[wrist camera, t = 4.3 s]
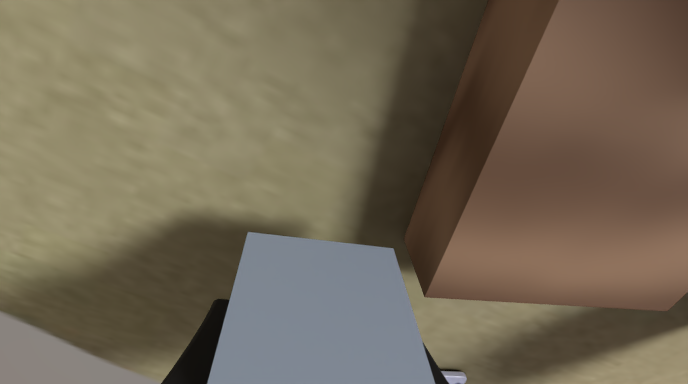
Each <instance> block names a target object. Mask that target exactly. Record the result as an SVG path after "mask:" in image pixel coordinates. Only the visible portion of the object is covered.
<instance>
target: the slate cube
mask: <svg viewBox="0 0 688 384" xmlns="http://www.w3.org/2000/svg"><path fill="white" fill-rule="evenodd" d="M207 384H435V381H434V378H433V375H432V372H431V368H430V365H429V362H428V359H427V355H426V352H425V349H424V346H423V342H422V339H421V336H420V333H419V330H418V326H417V323H416V320H415V317H414V313H413V310H412V307H411V304H410V300H409V297H408V294H407V291H406V288H405V284H404V281H403V278H402V275H401V271H400V268H399V265H398V262H397V258H396V255H395V252H394V249H393V248H386V247H377V246H368V245H359V244H350V243H341V242H333V241H324V240H315V239H306V238H297V237H288V236H280V235H271V234H262V233H253V232H248V234H247V237H246V241H245V245H244V249H243V252H242V256H241V260H240V263H239V267H238V271H237V275H236V278H235V282H234V286H233V290H232V293H231V297H230V301H229V304H228V308H227V312H226V316H225V319H224V323H223V327H222V331H221V334H220V338H219V342H218V345H217V349H216V353H215V357H214V360H213V364H212V368H211V371H210V375H209V379H208V383H207Z"/></svg>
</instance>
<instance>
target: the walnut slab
mask: <svg viewBox="0 0 688 384" xmlns="http://www.w3.org/2000/svg"><path fill="white" fill-rule="evenodd" d="M404 241H405V244H406V247H407V249H408V252H409V255H410V258H411V261H412V263H413V266H414V269H415V272H416V274H417V277H418V280H419V283H420V286H421V288H422V291H423V294H424V297H430V298H447V299H464V300H482V301H499V302H516V303H534V304H551V305H568V306H586V307H603V308H620V309H637V310H655V311H668V310H669V309H670V308H671V307H672V306H673V305H674V304H675V303H677V302H678V301H679V300H680V299H681V298H682V297H683V296H684V295H685V294H686V293H687V292H688V0H488V3H487V6H486V9H485V12H484V14H483V17H482V20H481V23H480V26H479V29H478V31H477V34H476V37H475V40H474V43H473V45H472V48H471V51H470V54H469V57H468V60H467V62H466V65H465V68H464V71H463V74H462V76H461V79H460V82H459V85H458V88H457V91H456V93H455V96H454V99H453V102H452V105H451V107H450V110H449V113H448V116H447V119H446V122H445V124H444V127H443V130H442V133H441V136H440V139H439V141H438V144H437V147H436V150H435V153H434V155H433V158H432V161H431V164H430V167H429V170H428V172H427V175H426V178H425V181H424V184H423V186H422V189H421V192H420V195H419V198H418V201H417V203H416V206H415V209H414V212H413V215H412V217H411V220H410V223H409V226H408V229H407V232H406V234H405V237H404Z"/></svg>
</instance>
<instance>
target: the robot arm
mask: <svg viewBox="0 0 688 384" xmlns="http://www.w3.org/2000/svg"><path fill="white" fill-rule="evenodd" d="M229 301H230V300H225V299H217V300H215V301H214V302H213V304H212V306H211V308H210V310H209V312H208V314H207V316H206V317H205V319H204V321H203V323H202V324H201V326H200V328H199V329H198V331H197V332H196V334H195V336H194V337H193V339H192V340H191V342H190V343H189V345H188V346H187V348H186V349H185V351H184V352H183V354H182V355H181V357H180V358H179V360H178V361H177V363H176V364H175V365H174V367H173V368H172V370H171V371H170V372H169V374H168V375H167V376H166V378H165V379H164V380H163V382H162V383H161V384H207V383H208V379H209V375H210V371H211V368H212V364H213V360H214V357H215V353H216V349H217V345H218V342H219V338H220V334H221V331H222V327H223V323H224V319H225V316H226V312H227V308H228V304H229ZM423 346H424V349H425V352H426V355H427V359H428V362H429V365H430V368H431V372H432V375H433V378H434V381H435V384H464V383H465V382H466V380H467V378H466V375H465V373H463V372H454V371H441V370H440V369H439V367H438V366H437V364H436V363H435V361H434V360H433V358H432V356H431V355H430V353H429V351H428V350H427V348H426V347H425V345H424V343H423Z"/></svg>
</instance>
